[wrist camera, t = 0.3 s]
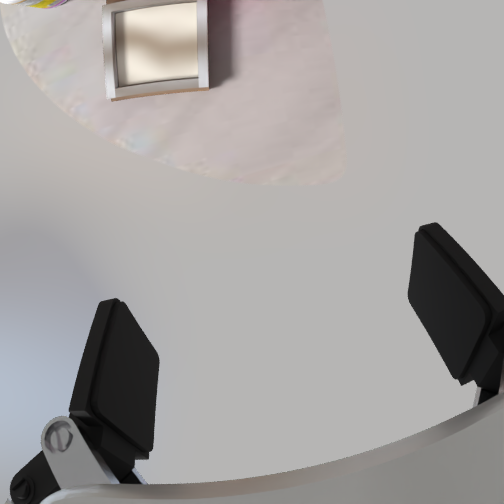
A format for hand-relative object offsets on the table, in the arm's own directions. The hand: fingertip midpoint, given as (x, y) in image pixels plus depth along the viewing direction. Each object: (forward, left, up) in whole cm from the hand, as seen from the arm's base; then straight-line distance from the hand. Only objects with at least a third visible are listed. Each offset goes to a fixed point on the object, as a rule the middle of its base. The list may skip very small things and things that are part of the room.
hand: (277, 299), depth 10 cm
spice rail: (-15, -8, -30) cm, 35 cm away
